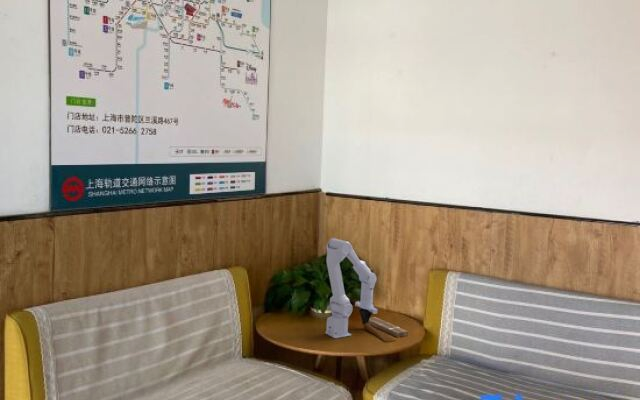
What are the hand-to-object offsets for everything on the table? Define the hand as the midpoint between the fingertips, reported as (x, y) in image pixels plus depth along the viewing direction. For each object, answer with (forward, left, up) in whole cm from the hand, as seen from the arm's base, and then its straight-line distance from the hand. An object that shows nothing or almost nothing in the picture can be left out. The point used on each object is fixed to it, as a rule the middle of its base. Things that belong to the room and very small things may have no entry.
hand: (365, 324), depth 273 cm
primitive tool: (0, -11, -2) cm, 11 cm away
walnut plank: (+9, -5, -2) cm, 10 cm away
